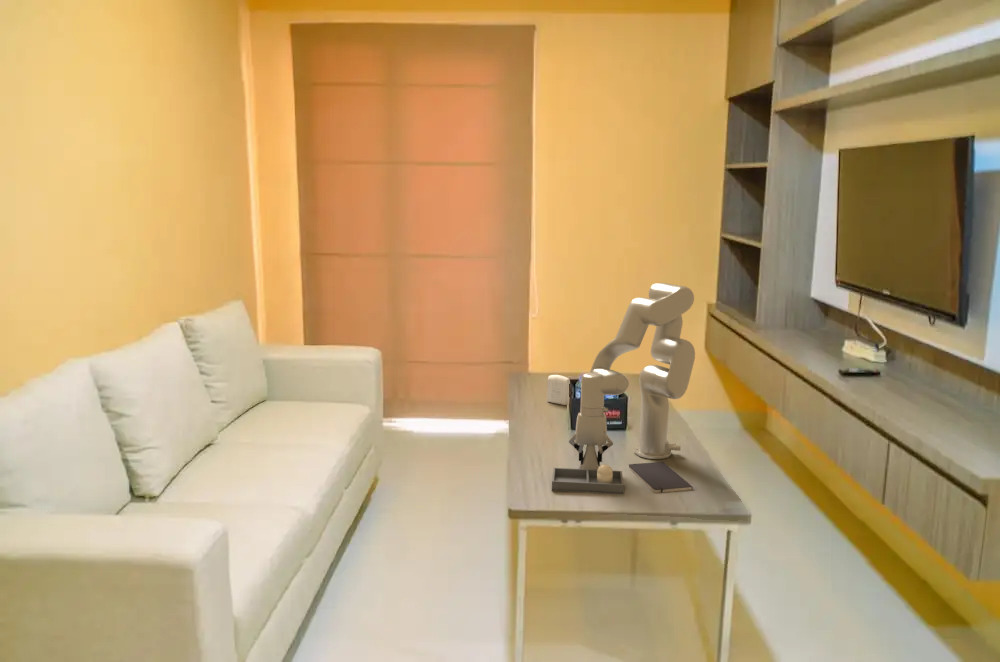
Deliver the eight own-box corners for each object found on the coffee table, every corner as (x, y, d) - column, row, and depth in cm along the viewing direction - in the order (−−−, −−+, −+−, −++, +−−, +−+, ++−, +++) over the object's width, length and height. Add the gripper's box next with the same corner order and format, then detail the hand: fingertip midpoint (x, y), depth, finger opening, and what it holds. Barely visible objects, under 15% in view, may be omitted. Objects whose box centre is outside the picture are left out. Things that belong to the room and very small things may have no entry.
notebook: (692, 491, 222) (662, 466, 242) (692, 486, 221) (662, 461, 242) (654, 494, 219) (627, 468, 239) (654, 489, 219) (627, 464, 239)
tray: (621, 479, 228) (621, 470, 228) (623, 494, 218) (623, 485, 217) (553, 476, 231) (553, 467, 230) (551, 490, 220) (551, 481, 219)
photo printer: (570, 403, 310) (571, 376, 308) (566, 406, 307) (566, 378, 304) (550, 399, 316) (550, 372, 314) (545, 402, 312) (545, 374, 310)
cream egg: (611, 481, 226) (612, 462, 224) (612, 487, 221) (613, 468, 220) (596, 480, 226) (597, 461, 225) (596, 486, 221) (597, 467, 220)
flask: (603, 472, 234) (604, 443, 233) (581, 472, 234) (582, 443, 232) (598, 464, 242) (599, 435, 240) (577, 464, 241) (578, 436, 239)
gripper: (617, 408, 237) (615, 460, 240) (566, 406, 239) (564, 458, 242) (618, 415, 229) (616, 469, 233) (565, 413, 231) (564, 466, 235)
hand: (590, 462), depth 237 cm, fingers closed on flask, 4 cm apart
